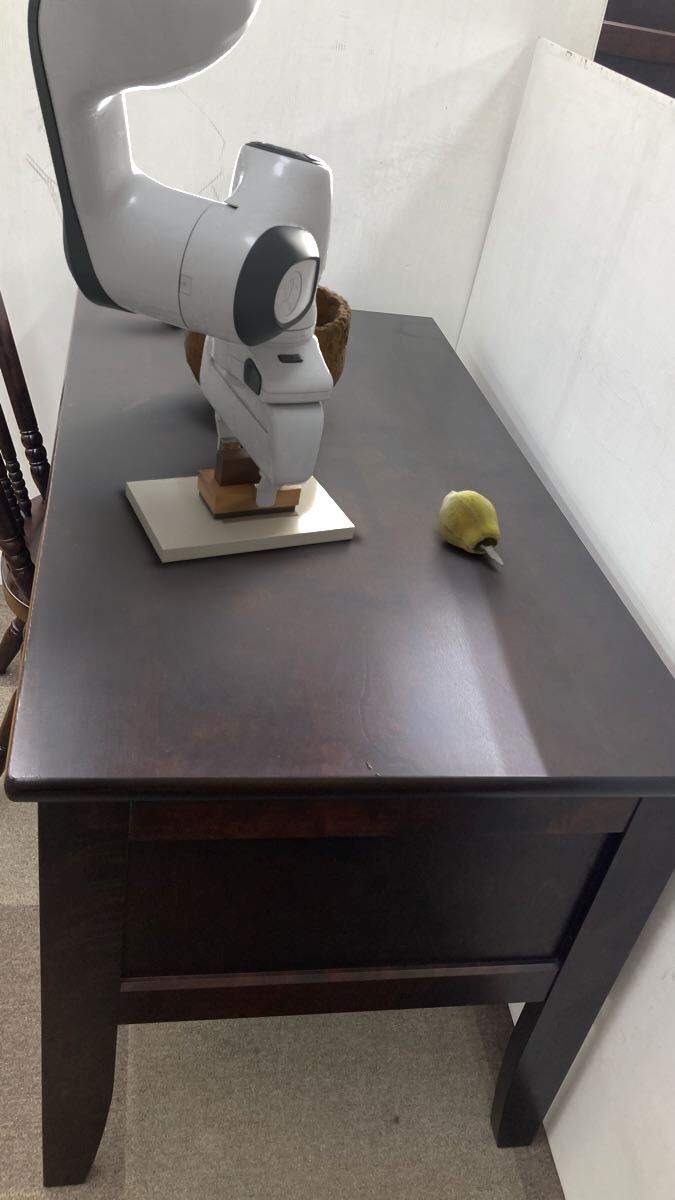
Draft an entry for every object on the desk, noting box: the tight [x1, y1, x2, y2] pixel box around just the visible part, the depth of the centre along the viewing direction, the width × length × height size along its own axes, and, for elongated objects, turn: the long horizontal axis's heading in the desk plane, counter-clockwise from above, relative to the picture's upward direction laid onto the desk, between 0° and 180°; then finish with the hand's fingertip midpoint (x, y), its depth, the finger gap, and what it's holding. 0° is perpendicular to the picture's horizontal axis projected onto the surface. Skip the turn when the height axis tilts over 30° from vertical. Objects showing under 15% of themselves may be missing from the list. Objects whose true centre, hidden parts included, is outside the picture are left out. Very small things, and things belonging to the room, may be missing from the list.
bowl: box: [183, 284, 352, 389], centre depth 106 cm, size 19×19×15 cm
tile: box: [125, 475, 356, 563], centre depth 90 cm, size 20×12×2 cm, turn 116°
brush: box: [197, 447, 301, 519], centre depth 88 cm, size 9×5×6 cm, turn 116°
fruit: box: [436, 490, 504, 567], centre depth 92 cm, size 6×6×10 cm
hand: (244, 477), depth 88 cm, fingers open, 8 cm apart
